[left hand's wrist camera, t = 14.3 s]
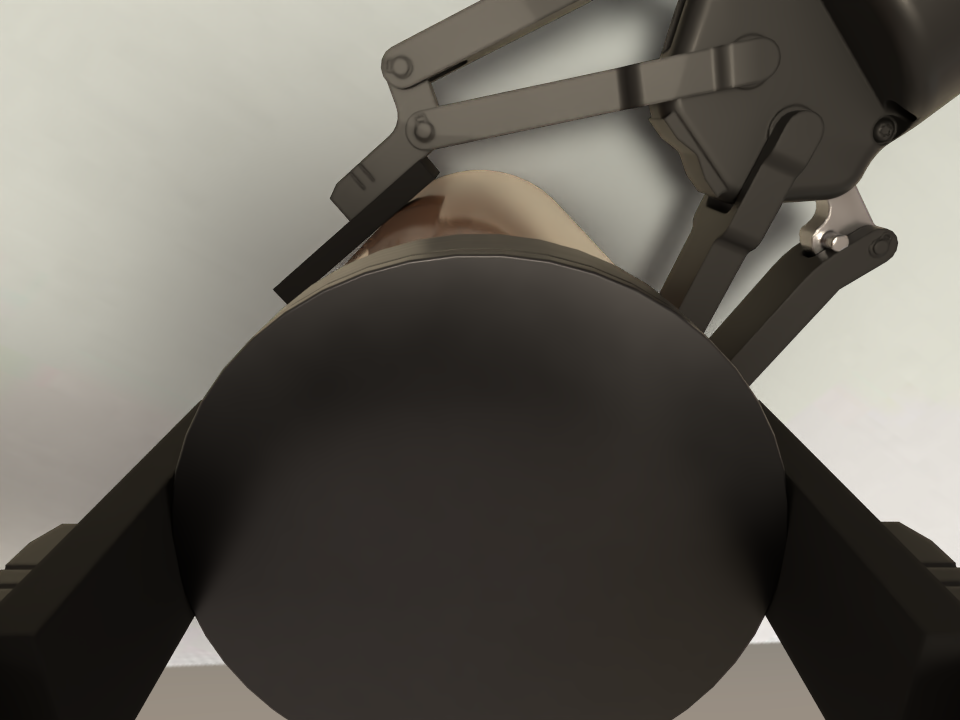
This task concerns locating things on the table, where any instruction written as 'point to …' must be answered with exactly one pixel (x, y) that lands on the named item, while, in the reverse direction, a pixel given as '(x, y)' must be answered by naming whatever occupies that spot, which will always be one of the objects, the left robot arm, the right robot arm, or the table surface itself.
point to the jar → (480, 214)
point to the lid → (480, 494)
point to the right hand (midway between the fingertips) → (388, 390)
